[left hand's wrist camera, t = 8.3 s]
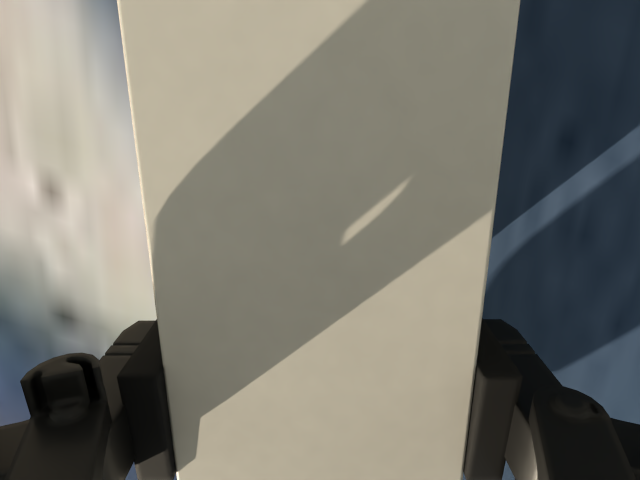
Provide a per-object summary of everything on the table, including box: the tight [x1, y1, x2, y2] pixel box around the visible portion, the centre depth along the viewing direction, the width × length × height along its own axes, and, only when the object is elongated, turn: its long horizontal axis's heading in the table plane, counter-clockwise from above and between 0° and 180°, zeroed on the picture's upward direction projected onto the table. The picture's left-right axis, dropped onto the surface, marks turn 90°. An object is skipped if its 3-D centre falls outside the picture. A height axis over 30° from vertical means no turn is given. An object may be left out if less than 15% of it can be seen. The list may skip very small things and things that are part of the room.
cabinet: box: [117, 0, 520, 480], centre depth 13 cm, size 16×6×11 cm, turn 0°
